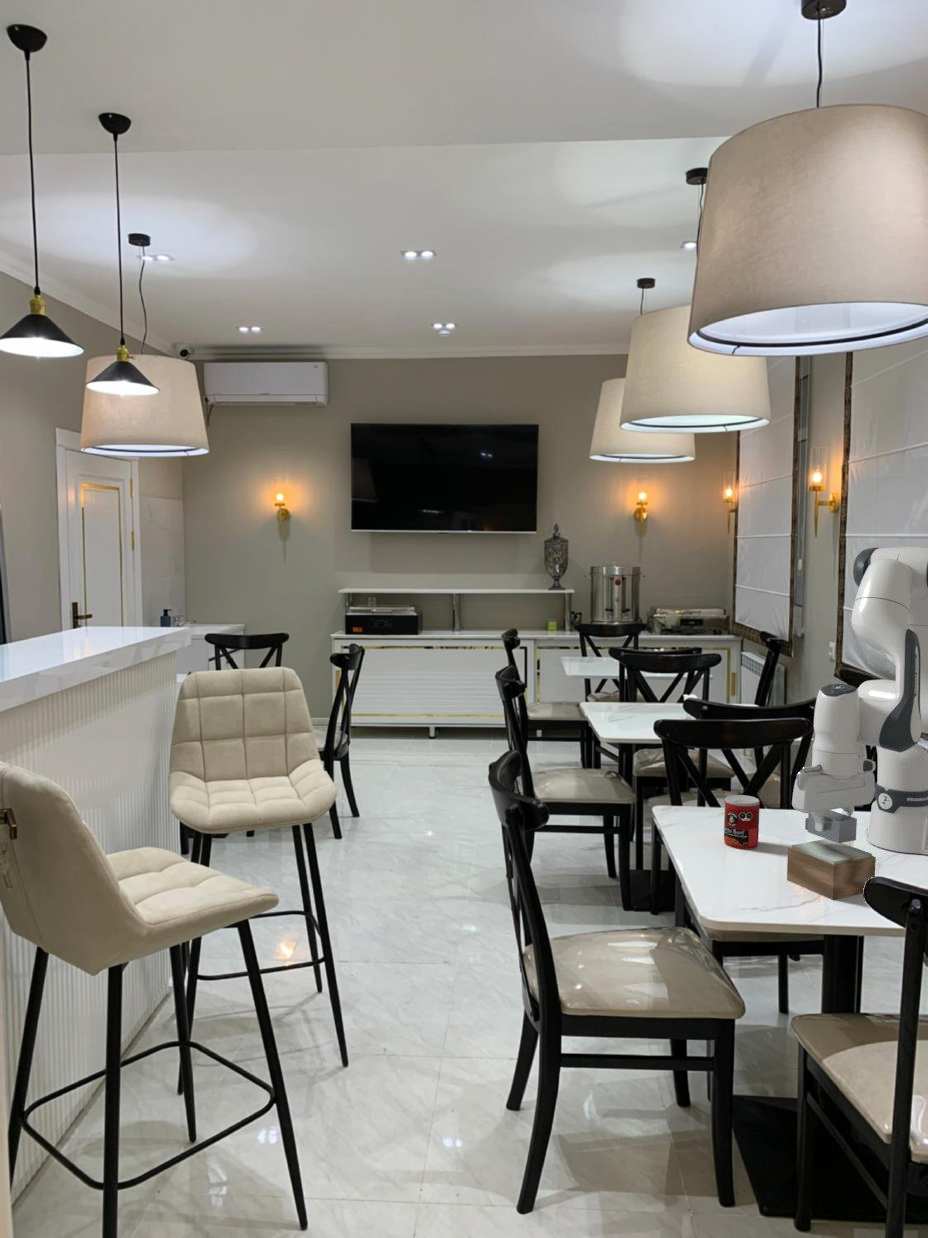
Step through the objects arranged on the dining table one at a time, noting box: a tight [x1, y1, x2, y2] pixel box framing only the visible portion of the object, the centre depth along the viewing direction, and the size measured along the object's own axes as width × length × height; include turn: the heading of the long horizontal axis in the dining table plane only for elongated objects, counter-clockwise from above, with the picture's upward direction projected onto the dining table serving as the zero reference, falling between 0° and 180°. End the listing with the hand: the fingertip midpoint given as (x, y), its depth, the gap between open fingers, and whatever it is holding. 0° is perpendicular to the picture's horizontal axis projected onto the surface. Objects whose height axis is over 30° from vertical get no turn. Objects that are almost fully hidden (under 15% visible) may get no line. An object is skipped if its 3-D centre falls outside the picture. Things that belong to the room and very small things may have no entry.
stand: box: [786, 838, 877, 901], centre depth 185 cm, size 12×12×8 cm
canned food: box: [723, 794, 761, 850], centre depth 211 cm, size 8×8×11 cm
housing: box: [804, 809, 858, 844], centre depth 185 cm, size 10×5×4 cm, turn 26°
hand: (831, 828), depth 184 cm, fingers closed on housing, 5 cm apart
